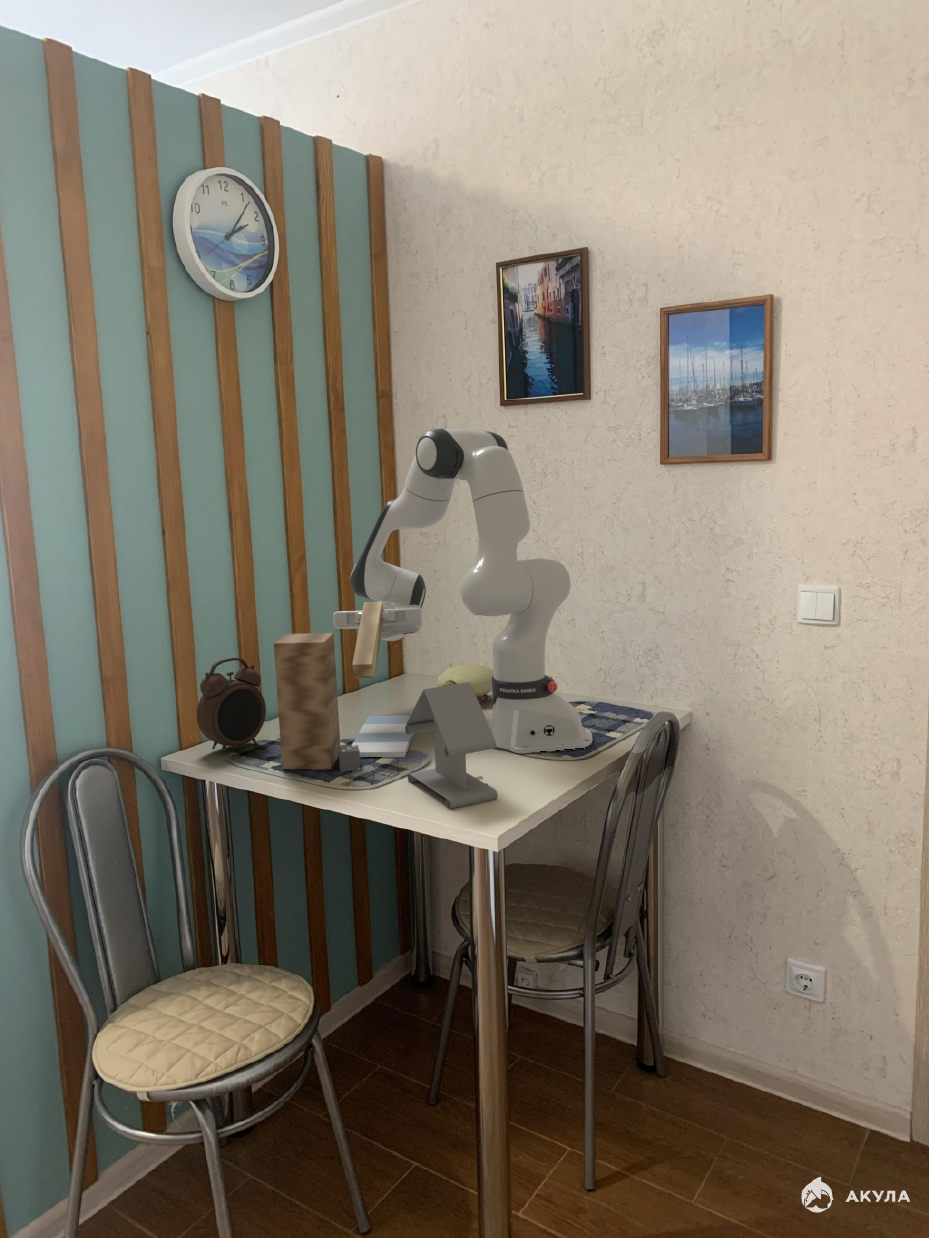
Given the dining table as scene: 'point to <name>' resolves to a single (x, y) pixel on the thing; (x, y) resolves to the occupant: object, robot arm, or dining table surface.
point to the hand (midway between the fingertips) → (372, 616)
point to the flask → (469, 678)
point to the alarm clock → (231, 706)
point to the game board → (384, 737)
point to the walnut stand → (307, 700)
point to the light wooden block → (368, 640)
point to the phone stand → (453, 742)
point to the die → (349, 757)
